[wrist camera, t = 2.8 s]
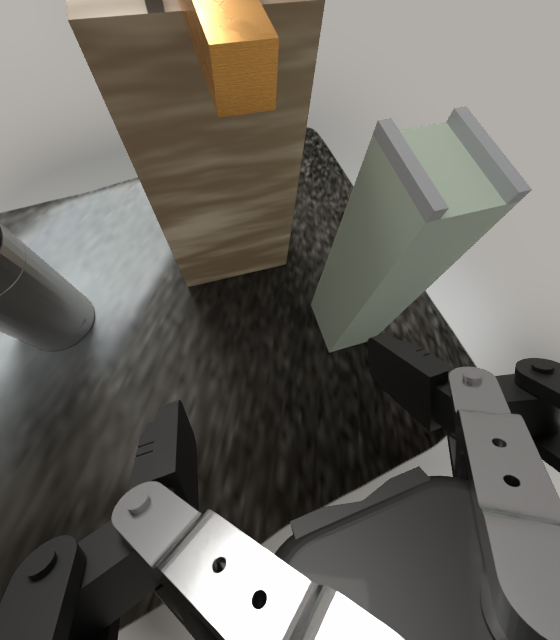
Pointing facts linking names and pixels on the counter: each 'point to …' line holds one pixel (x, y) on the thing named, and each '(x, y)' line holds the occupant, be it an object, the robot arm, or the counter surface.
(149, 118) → the stand
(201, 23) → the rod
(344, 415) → the counter surface
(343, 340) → the grooved green pillar
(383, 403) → the counter surface
